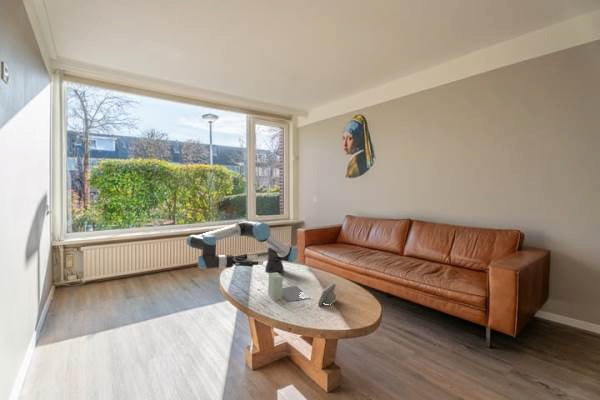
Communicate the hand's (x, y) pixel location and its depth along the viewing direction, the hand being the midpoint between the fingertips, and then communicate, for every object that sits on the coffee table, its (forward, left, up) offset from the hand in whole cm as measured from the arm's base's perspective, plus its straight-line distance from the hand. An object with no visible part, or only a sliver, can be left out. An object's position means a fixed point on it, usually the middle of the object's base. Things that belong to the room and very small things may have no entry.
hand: (260, 259), depth 179 cm
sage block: (-10, +1, -25) cm, 27 cm away
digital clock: (-37, +21, -25) cm, 49 cm away
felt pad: (-22, +1, -25) cm, 33 cm away
